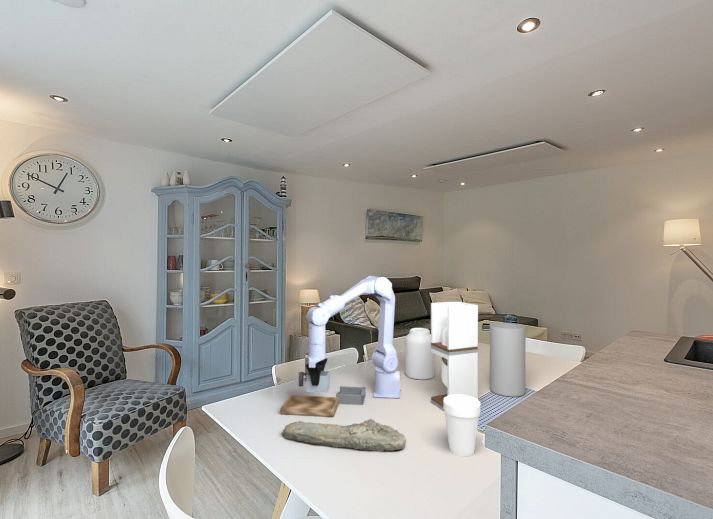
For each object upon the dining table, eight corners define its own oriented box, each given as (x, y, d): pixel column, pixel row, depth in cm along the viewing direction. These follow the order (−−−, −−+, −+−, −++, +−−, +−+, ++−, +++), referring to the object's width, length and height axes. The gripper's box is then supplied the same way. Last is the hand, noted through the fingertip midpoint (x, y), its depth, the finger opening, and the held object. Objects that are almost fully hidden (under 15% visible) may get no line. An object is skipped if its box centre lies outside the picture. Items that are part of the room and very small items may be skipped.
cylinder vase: (529, 399, 131) (529, 329, 131) (492, 396, 134) (492, 328, 134) (520, 386, 144) (521, 323, 143) (487, 384, 146) (487, 322, 146)
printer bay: (365, 395, 135) (365, 387, 135) (363, 404, 127) (363, 396, 127) (340, 394, 136) (340, 386, 136) (336, 403, 128) (336, 394, 128)
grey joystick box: (329, 387, 126) (329, 371, 126) (327, 392, 122) (327, 375, 122) (300, 386, 127) (300, 369, 127) (296, 390, 123) (297, 373, 123)
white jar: (432, 371, 163) (432, 326, 163) (436, 380, 151) (436, 332, 150) (404, 370, 164) (404, 326, 164) (405, 379, 152) (405, 331, 152)
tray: (338, 404, 127) (338, 397, 127) (333, 417, 117) (333, 409, 117) (290, 402, 129) (290, 395, 129) (281, 414, 119) (281, 407, 119)
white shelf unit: (458, 397, 133) (458, 301, 132) (477, 409, 123) (477, 305, 122) (431, 402, 128) (431, 303, 128) (449, 414, 119) (449, 306, 118)
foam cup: (439, 441, 101) (439, 395, 101) (471, 440, 102) (471, 393, 102) (450, 460, 92) (450, 409, 92) (486, 459, 93) (486, 408, 93)
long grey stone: (291, 431, 111) (278, 449, 101) (290, 414, 111) (276, 431, 101) (407, 436, 104) (404, 457, 94) (406, 418, 103) (403, 437, 94)
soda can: (319, 383, 148) (319, 353, 148) (302, 382, 149) (302, 352, 149) (324, 377, 155) (324, 349, 155) (308, 376, 156) (308, 348, 156)
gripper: (310, 337, 132) (310, 375, 132) (299, 347, 117) (299, 389, 118) (330, 338, 131) (330, 376, 131) (321, 348, 117) (321, 390, 117)
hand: (317, 382), depth 124 cm, fingers closed on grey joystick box, 4 cm apart
